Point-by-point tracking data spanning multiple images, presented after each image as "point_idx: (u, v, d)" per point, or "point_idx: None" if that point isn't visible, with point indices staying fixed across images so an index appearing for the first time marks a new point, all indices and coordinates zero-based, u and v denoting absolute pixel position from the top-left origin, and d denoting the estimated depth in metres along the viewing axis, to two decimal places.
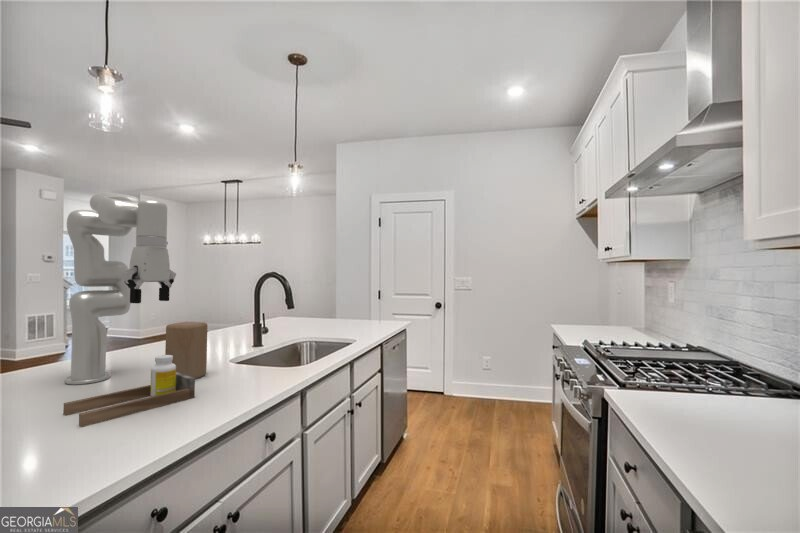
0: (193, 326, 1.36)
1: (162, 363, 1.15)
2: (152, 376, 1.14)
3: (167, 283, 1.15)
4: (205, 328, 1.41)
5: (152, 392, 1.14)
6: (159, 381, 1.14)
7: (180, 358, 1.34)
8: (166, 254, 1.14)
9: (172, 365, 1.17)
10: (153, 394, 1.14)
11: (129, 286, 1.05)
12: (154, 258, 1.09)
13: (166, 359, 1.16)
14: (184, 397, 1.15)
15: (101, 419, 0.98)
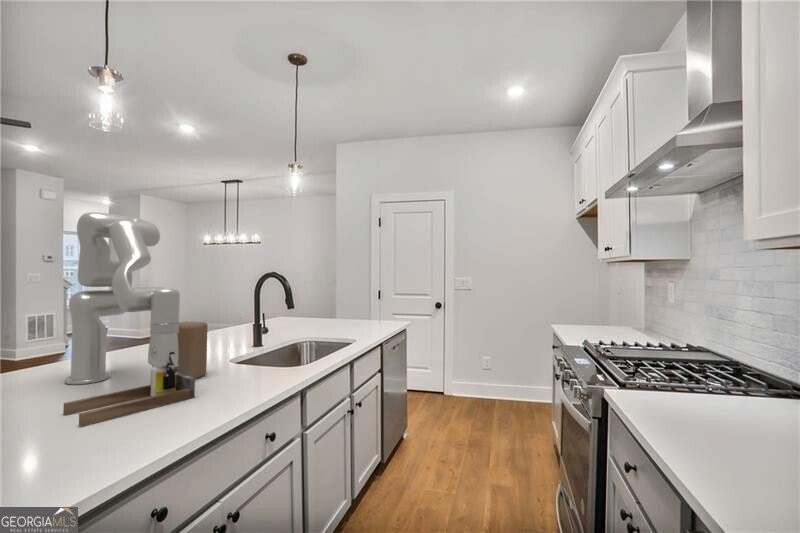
0: (193, 326, 1.36)
1: None
2: (152, 376, 1.14)
3: None
4: (205, 328, 1.41)
5: (152, 392, 1.14)
6: (159, 381, 1.14)
7: (180, 358, 1.34)
8: None
9: None
10: (153, 394, 1.14)
11: (170, 374, 1.14)
12: None
13: None
14: (184, 397, 1.15)
15: (101, 419, 0.98)
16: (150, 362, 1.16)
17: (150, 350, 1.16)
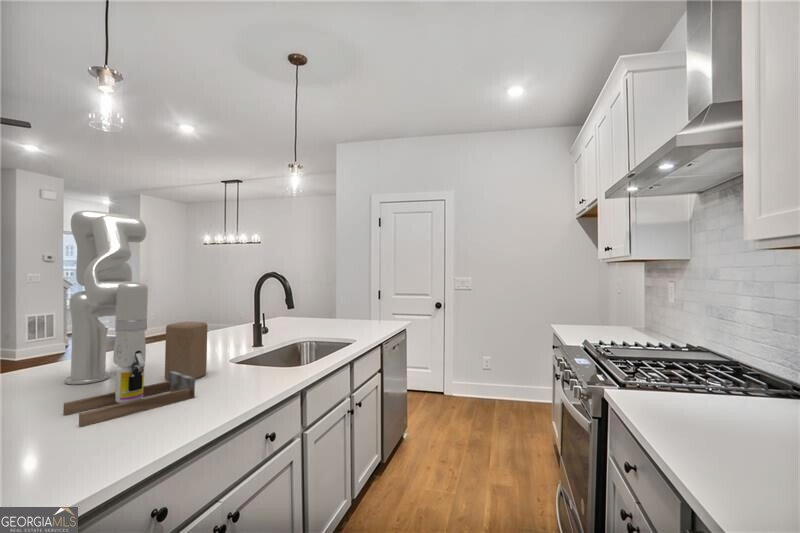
0: (193, 326, 1.36)
1: None
2: (117, 376, 1.07)
3: None
4: (205, 328, 1.41)
5: (117, 393, 1.07)
6: (124, 382, 1.07)
7: (180, 358, 1.34)
8: None
9: None
10: (118, 396, 1.07)
11: (136, 374, 1.06)
12: None
13: None
14: (184, 397, 1.15)
15: (101, 419, 0.98)
16: (115, 361, 1.09)
17: (115, 349, 1.09)
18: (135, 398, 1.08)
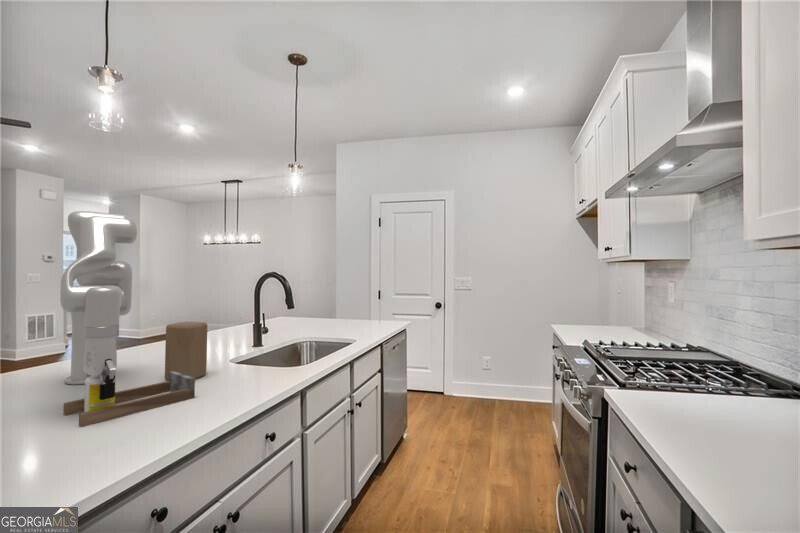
0: (193, 326, 1.36)
1: None
2: (85, 389, 1.01)
3: None
4: (205, 328, 1.41)
5: (85, 407, 1.01)
6: (93, 394, 1.01)
7: (180, 358, 1.34)
8: None
9: None
10: (86, 409, 1.01)
11: (108, 382, 1.00)
12: None
13: None
14: (184, 397, 1.15)
15: (101, 419, 0.98)
16: (85, 370, 1.03)
17: (85, 357, 1.03)
18: None
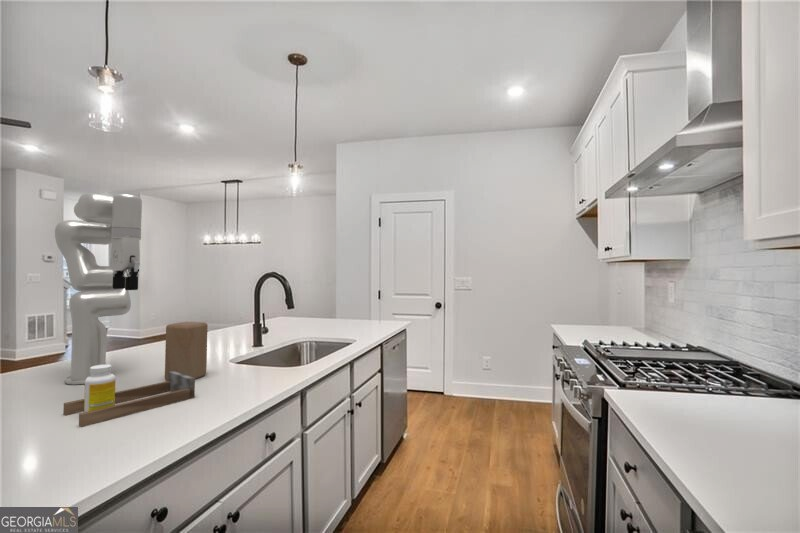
0: (193, 326, 1.36)
1: (98, 374, 1.02)
2: (85, 389, 1.01)
3: None
4: (205, 328, 1.41)
5: (85, 407, 1.01)
6: (93, 394, 1.01)
7: (180, 358, 1.34)
8: None
9: (110, 376, 1.04)
10: (86, 409, 1.01)
11: (132, 274, 1.14)
12: None
13: (102, 369, 1.03)
14: (184, 397, 1.15)
15: (101, 419, 0.98)
16: (111, 267, 1.17)
17: (112, 255, 1.17)
18: None
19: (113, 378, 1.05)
